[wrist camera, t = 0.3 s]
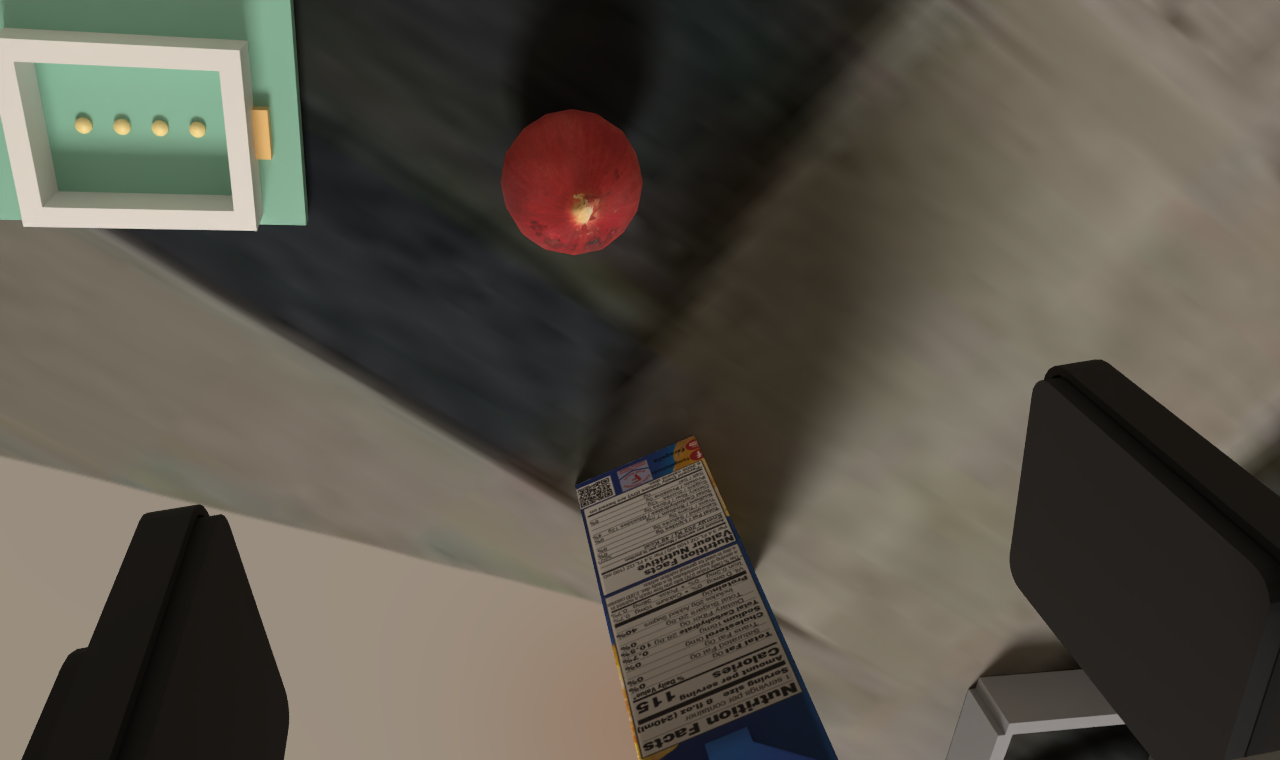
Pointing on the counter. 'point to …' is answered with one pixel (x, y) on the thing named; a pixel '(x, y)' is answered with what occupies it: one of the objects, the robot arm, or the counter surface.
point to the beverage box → (692, 619)
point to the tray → (1026, 711)
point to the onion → (571, 182)
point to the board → (150, 114)
